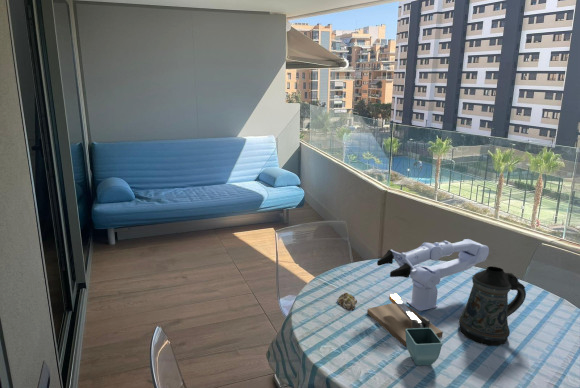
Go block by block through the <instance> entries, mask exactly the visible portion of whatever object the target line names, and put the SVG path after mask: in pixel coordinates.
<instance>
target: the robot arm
mask: <svg viewBox="0 0 580 388" xmlns="http://www.w3.org/2000/svg"><path fill="white" fill-rule="evenodd" d="M454 253H458V255H457V256H458V258H455V259H452V260H449V261H444V262H441V263H439V264H436V265H432V266H431V265H425V264H424V265H419V264H422V263H424V262H427V261H429V260H431V261H438V260H440V259H441V258H445V257H448V256H451V255H453V254H454ZM489 254H490V248H489V246H488V245H486V244H481V242H477V241H475V240H472V239H470V238H467V239H466V238H464V239H463V240H462V241H456V242H453V243H451V242H450V241H448V240H443V241H440V242H437V241H436V242H434V243H431V242H426V241H425V242H423V243H421V245H420V246H418V247H417V248H415V249H411V250H409V251H406V252H403V251H402V252H401V253H400V252H398V251H395V250H393V249H389V250H387V252H385V254H384V255H382V257H380V258H379V259H378V260H377V267H378V266H383V265H387V264H389V265H390V264H391V265H393V261H395V262H396V264H397V265H398V266H399V267H397V268H396V269H392V270H391V271H390V272H389V278H398V277H399V278H400V277H401V278H406V279H407V278H410V279H411V282H412V291H411V292H412V294H411V299H409V300H406V303H407V304H408V305H410V306H412V307H413V308H414V309H415V310H417V311H419V312H422V311H427V310H430V309H434V308H438V305H437V302H438V301H437V300H438V294H439V293H438V287H437V285H439V284H440V282H441V279H442V278H446V277H450V276H453V275H455V274H458V273H462V272H464V271H468V270H471V268H473V267H474V266H476V265H477V264H479V263H482V262H485V261H486V260H487V258H488V256H489Z"/></svg>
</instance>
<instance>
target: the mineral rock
mask: <svg viewBox="0 0 580 388" xmlns="http://www.w3.org/2000/svg"><path fill="white" fill-rule="evenodd" d="M336 301H337V303H338V304H339V306H341V307H342V308H344V309H347V310H350V311H353V310H354V309H356V304H358V300H357V299H356V298H355V296H354V295H352V294H349V292H344V293H342V294H340V296H339V297H338V298H337V300H336Z"/></svg>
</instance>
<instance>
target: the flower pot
mask: <svg viewBox="0 0 580 388" xmlns="http://www.w3.org/2000/svg"><path fill="white" fill-rule="evenodd" d="M405 332H406V345H407V347H406V348H407V351H408V353H409V355H410V357H411V359H412V360H413V363H415V365H416V366H431V365H433V364H434V363H436V362H437V361H438V359H439V357H440V354H441V350H442V348H443V347H442V346H443V341H442V340H441V339H440V338H438V337H437V335H436V334H435V333H434V331H433V330H432V329H431V328H413V329H405Z"/></svg>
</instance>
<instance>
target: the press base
mask: <svg viewBox="0 0 580 388" xmlns="http://www.w3.org/2000/svg"><path fill="white" fill-rule="evenodd" d="M405 305H406V306H407V307H408V308H409V309H410V310H411V312H412V313H413V314H414V315H415V316H416V317H417V318H418V319H419V320H420V321H421V322H422V323H424V325H425V328H431V329H432V330H433V331H434V333H435V334H436V335H437V337H438V338H439V339H440V338H442V337H443V334H444V332H443V331H442V330H441V329H439V328H438V327H437V326H436V325H434V324H433V323H431V321H430V319H428V318H427V317H425V316H422V315H420V314H419V313H417V312H416V311H415V310H413V308H411V307H410V306H408V305H407V304H405ZM366 310H367V311H366V312H367V313H366V314H367V315H369V316H370V317H371V318H372V319H373V320H374V321H375V322H376V323H378V324H379V325H380V326H381V327H382V328H383V329H384V330H385V331H387V332H388V333H389V334H390V335H391V336H392V337H393V338H395V339H396V340H397V341H398V342H399V343H400V344H402V345H403V346H404V347H405V348H407V345H406V332H405V329H413V328H420V326H421V323H420V322H419V321H417V320H416V319H413V320H412V322H411V321H410V320H409V319H408V318H407V317H406V315H405V314H404V313H403V312H402V311H401V310H400V309H399V308H398V307H397V306H396V305H395V304H393V303H392V302H391V303H389V304H382V305H379V306H374V307H370V308H369V307H368V308H367V309H366Z"/></svg>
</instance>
